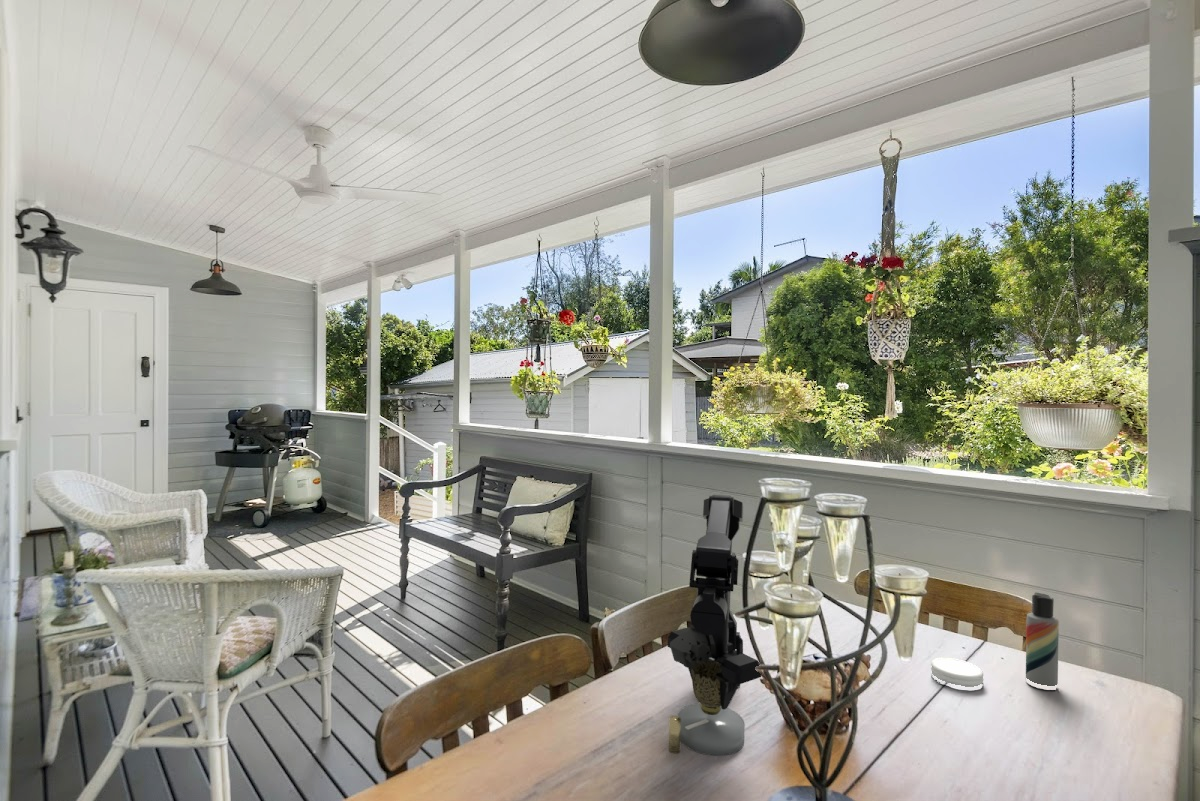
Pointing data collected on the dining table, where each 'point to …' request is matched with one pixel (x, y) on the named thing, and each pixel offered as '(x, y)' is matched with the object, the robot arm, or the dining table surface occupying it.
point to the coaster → (957, 672)
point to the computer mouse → (711, 731)
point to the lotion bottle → (1042, 641)
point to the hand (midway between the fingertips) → (711, 700)
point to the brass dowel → (674, 734)
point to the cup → (707, 686)
